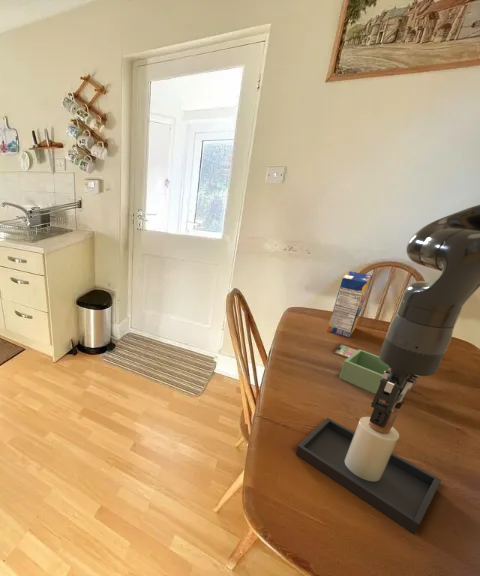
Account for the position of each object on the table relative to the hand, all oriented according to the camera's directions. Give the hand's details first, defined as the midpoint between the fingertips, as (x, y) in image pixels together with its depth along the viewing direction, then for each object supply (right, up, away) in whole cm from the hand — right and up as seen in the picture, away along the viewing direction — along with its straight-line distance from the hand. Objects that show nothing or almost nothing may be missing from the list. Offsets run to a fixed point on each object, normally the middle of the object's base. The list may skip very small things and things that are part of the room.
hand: (385, 414), depth 60 cm
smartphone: (+32, 0, +42) cm, 53 cm away
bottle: (0, -13, +5) cm, 14 cm away
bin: (+24, -4, +32) cm, 40 cm away
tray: (0, -14, +5) cm, 15 cm away
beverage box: (+40, +8, +62) cm, 74 cm away
